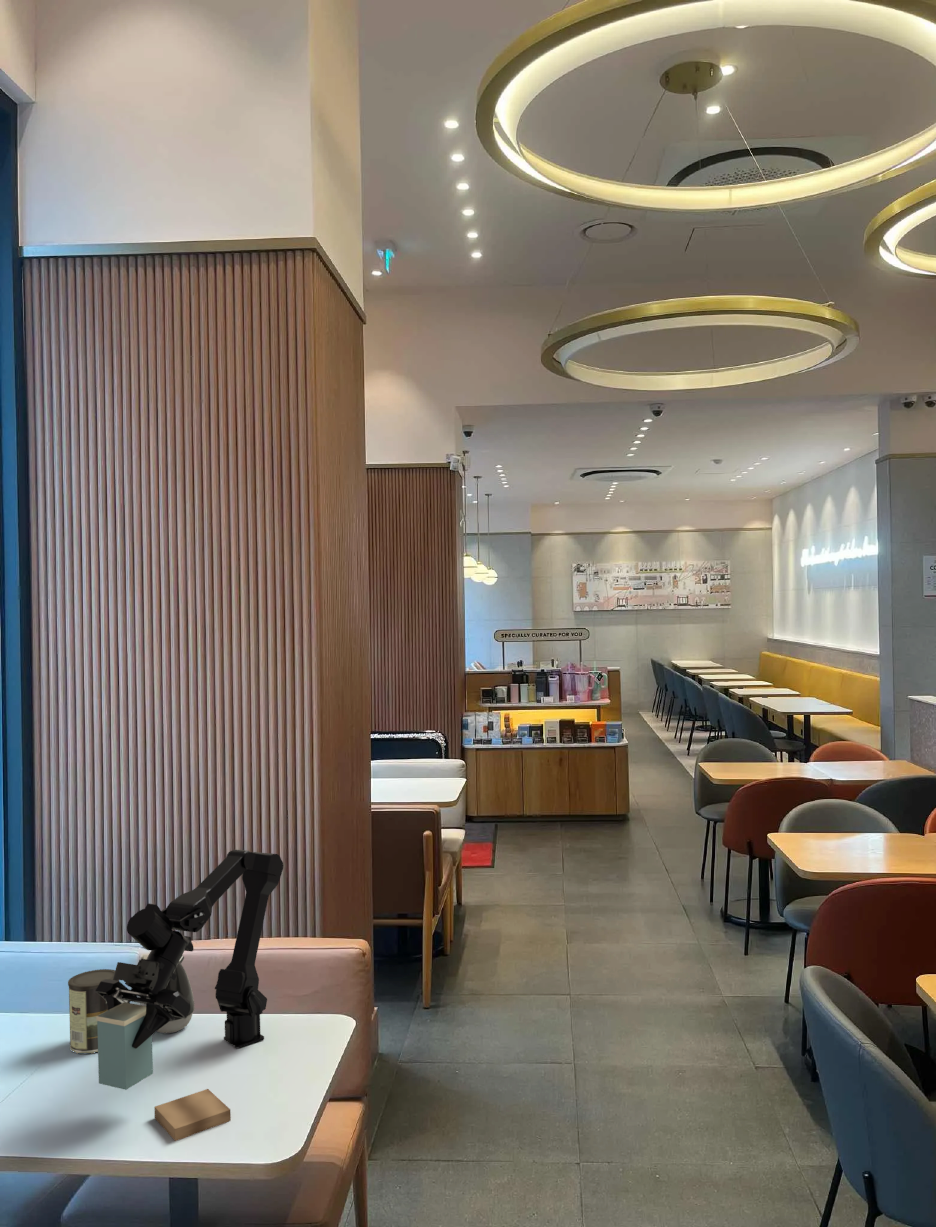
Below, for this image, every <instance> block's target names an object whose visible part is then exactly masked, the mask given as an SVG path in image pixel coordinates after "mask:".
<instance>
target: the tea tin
mask: <svg viewBox="0 0 936 1227" xmlns="http://www.w3.org/2000/svg"><path fill="white" fill-rule="evenodd" d="M145 1015H146V1005H144V1004H143V1005H141V1004H137V1003H133V1002H132V1003H131V1002H130V1003H126V1002H124V1003H122V1004H120V1005H118V1006H116V1007H114V1008H112V1009H110V1010H108V1011H106V1012H104V1013H102V1014H100V1015H98V1016H96V1021H97V1029H98V1053H97V1058H98V1059H97V1060H98V1065H97V1066H98V1067H97V1068H98V1084H100V1085H103V1086H107V1087H112V1088H117V1089H121V1090H125V1091H126V1090H129V1089H130V1088H132V1087H134V1086H135V1085H137V1084H138V1083H140V1082H141V1081H143V1080H145V1079H146V1078H148V1077H150V1076H151V1075H153V1074H154V1064H153V1063H154V1062H153V1060H154V1059H153V1056H154V1055H153V1035H151V1036H150V1037H149V1038H148V1039H147V1040H146V1041H145V1042H143V1043H142V1044H141V1045H140V1046H139V1047H138V1048H136V1049H135V1048H133V1047H132V1044H133V1041H134V1038H135V1036H136V1034H137V1032H138V1030H139V1028H140V1026H141V1024H142V1022H143V1020H144V1017H145Z"/></svg>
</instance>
